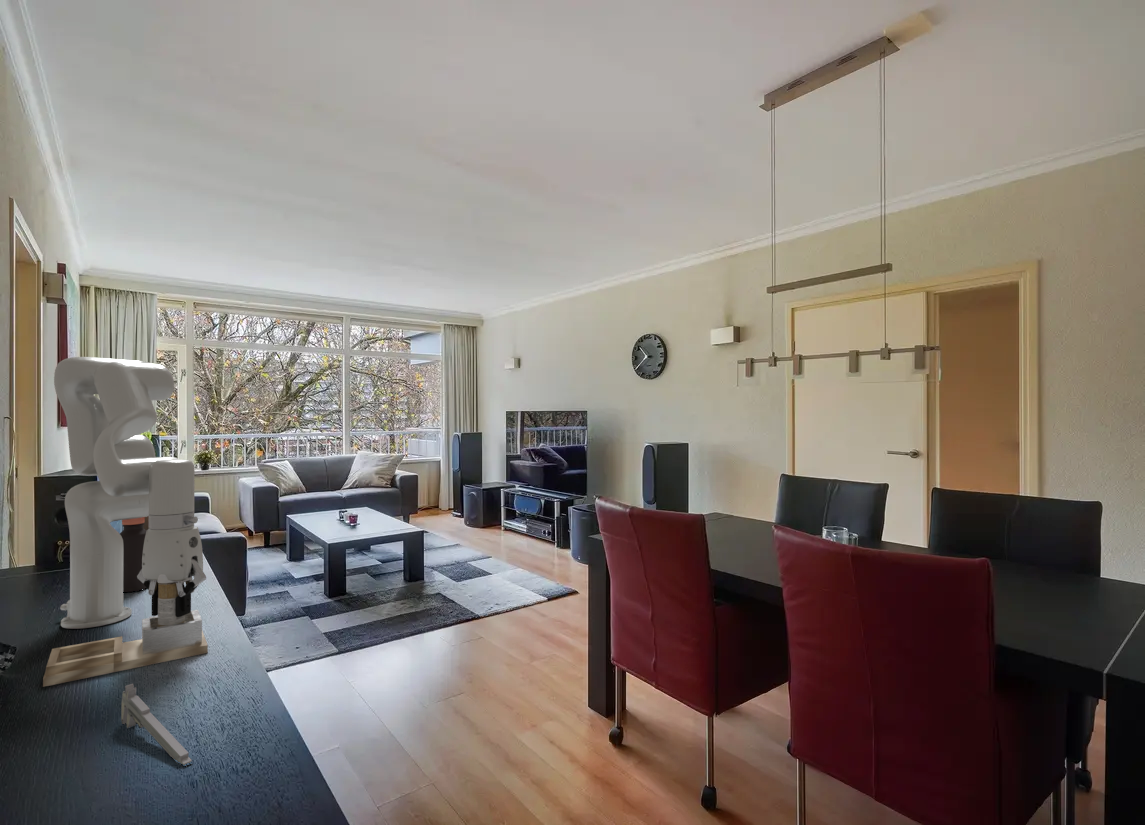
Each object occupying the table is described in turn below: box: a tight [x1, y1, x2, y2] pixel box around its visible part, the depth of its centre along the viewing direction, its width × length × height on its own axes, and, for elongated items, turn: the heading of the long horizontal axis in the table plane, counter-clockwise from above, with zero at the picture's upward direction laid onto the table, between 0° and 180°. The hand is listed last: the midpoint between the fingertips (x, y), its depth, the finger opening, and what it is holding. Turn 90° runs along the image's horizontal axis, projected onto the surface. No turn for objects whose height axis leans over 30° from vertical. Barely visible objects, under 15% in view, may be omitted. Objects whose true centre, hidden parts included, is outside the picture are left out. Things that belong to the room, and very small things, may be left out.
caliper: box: [120, 683, 193, 765], centre depth 83 cm, size 20×1×6 cm, turn 56°
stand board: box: [42, 630, 209, 688], centre depth 113 cm, size 24×12×3 cm, turn 127°
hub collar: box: [141, 609, 203, 655], centre depth 117 cm, size 9×9×4 cm
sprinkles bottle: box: [157, 574, 185, 627], centre depth 117 cm, size 5×5×14 cm
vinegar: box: [119, 517, 147, 593], centre depth 160 cm, size 7×7×20 cm
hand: (171, 613), depth 117 cm, fingers open, 4 cm apart
